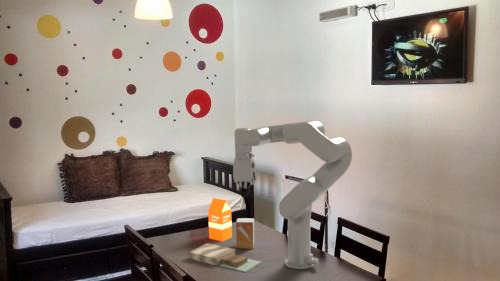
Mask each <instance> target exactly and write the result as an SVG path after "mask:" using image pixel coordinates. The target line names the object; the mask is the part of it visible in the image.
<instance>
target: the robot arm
mask: <svg viewBox="0 0 500 281" xmlns="http://www.w3.org/2000/svg"><path fill="white" fill-rule="evenodd" d="M325 131H326V129H325V126H324V125H323V124H322V123H321V122H320V121H316V120H309V121H299V122H290V123H284V124H279V125H278V124H277V125H269V126H262V127H261V126H260V127H258V128H252V129H251V128H249V127H240V128H236V129H235V130H234V155H235V156H234V159H233V165H232V177H233V178H232V179H233V182H234V183H236V184H238V186H239V189H240V194H241V198H246V197H249V195H250V194H249V188H250V187H251V186H252V185H256V180H257V178H258V177H257V167H256V162H255V159H254V158H255V154H254V153H253V147H259V146H263V145H265V144H267V145H268V144H273V143H285V144H286V145H287V144H288V145H294V144H301V145H303V146H304V147H305V148H306V149H307V150H308V151H310V152H311V153H312V154H314V156H316V157H317V158H319V159H320V160H322V161H323V162H324V163H323V164H322V166H320V167H319V168H318V169H317V170H316V171H315V172H314V173H313V174H311V175H310V176H308V177H306V178H305V179H302V180H301V181H300V182H298V183H297V184H296V185H295V186H294V187H292V189H290V191H289V192H288V193H287V194H286V195H285V196H284V197H283V198H282V199H281V200H280V202H279V204H278V211H279V214H280V216H281V217H282V218H284V219H286V220H287V249H288V250H287V252H288V254H287V256H288V257H287V258H285V260H284V265H285V266H286V267H287V268H289V269H293V270H307V269H311V268H313V267H314V266H319V263H320V262H319V258H317V257H314V253H311V252H312V251H311V246H312V245H311V221H312V220H311V218H312V217H311V216H312V210H313V204H314V203H315V202H316V201H317V200H319V199H320V198H322V197H323V196H324V195H325V194H326V192H328V190H329V189H330V188H332V187H333V186H334V185H335V183H337V181H338V180H340V179H341V178H342V177H343V176H344V174H345V173H346V172H347V171H348V169H349V167H350V165H351V163H352V159H353V153H352V152H353V151H352V147H351V144H350V143H349V141H348V140H346V139H345V138H343V137H334V138H331V139H330V138H328V137H327V136H326V135H325V134H326V133H325Z"/></svg>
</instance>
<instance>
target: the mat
mask: <svg viewBox="0 0 500 281" xmlns="http://www.w3.org/2000/svg"><path fill="white" fill-rule="evenodd" d="M261 263H262V261H261V260H260V261H259V260H255V259H253V258H252V259H251V258H248V262H247V263H245V264H243V265H242V266H240V267H234V266H230V265H226V264H220V265H219V267H223V268H228V269H230V270H231V269H232V270H235V271H239V272H243V273H247V272H249V271H250V270H252V269H254V268H255V267H256V266H258V265H260V264H261Z"/></svg>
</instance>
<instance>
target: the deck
mask: <svg viewBox="0 0 500 281" xmlns="http://www.w3.org/2000/svg"><path fill="white" fill-rule="evenodd" d="M229 254H234V255H237V254H236V249H235V248H231V247H227V246H222V245H219V244H214V243H210V242H209V243H205V244H203V245H200V246H199V247H197V248H195V249H192V250H191V251H189V255H188V256H189V260H193V261H197V262H200V263H205V264H208V265H213V266H215V267H216V266H217V267H220V264H222V263H221V259H222V258H224V257H225V256H227V255H229Z"/></svg>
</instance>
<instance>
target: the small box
mask: <svg viewBox="0 0 500 281" xmlns="http://www.w3.org/2000/svg"><path fill="white" fill-rule="evenodd" d="M235 227H236V228H235V229H236V230H235V232H236V233H235V234H236V237H235V240H236V249H251V250H252V249H254V247H255V218H254V217H253V218H251V217H250V218H247V217H245V218H244V217H241V218H239V217H238V218H236V223H235Z"/></svg>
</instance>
